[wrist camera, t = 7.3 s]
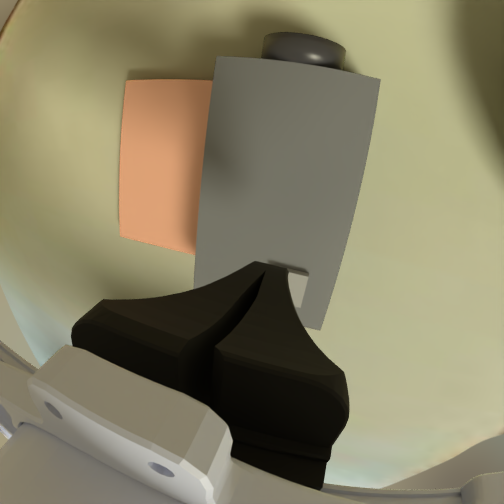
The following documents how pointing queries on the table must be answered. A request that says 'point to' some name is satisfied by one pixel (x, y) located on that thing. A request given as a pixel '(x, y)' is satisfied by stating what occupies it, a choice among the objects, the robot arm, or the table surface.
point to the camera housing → (284, 165)
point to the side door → (162, 160)
